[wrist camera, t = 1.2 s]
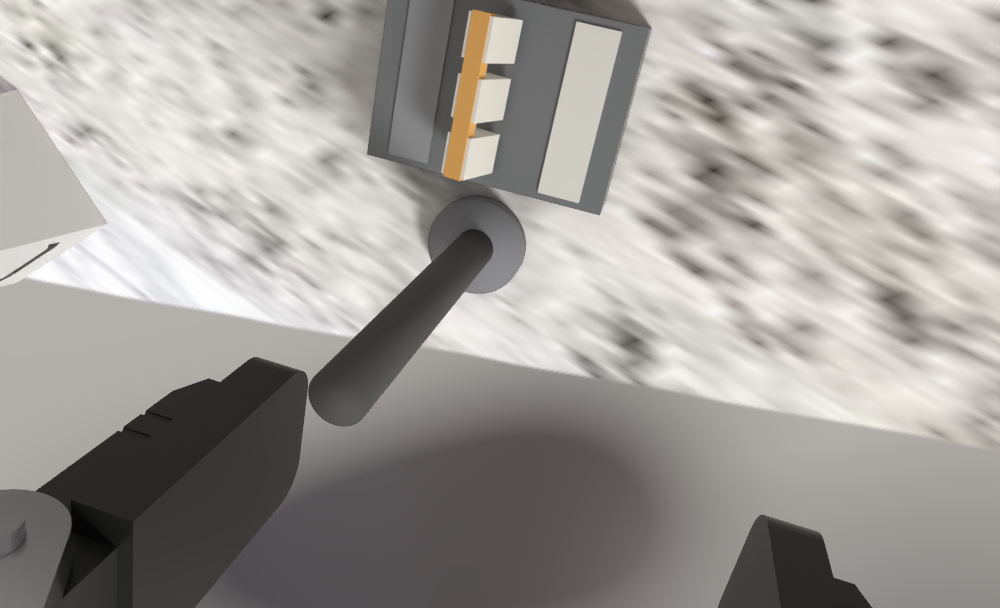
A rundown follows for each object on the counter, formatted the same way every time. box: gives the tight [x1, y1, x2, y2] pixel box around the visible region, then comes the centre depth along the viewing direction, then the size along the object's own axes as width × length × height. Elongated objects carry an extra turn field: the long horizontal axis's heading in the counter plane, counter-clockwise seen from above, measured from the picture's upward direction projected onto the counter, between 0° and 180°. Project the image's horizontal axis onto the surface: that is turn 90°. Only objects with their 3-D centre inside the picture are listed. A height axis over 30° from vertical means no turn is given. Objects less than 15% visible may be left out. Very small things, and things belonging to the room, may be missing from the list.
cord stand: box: [308, 196, 526, 426], centre depth 38 cm, size 6×6×21 cm
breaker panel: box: [367, 0, 652, 215], centre depth 42 cm, size 14×10×3 cm
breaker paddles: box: [441, 9, 523, 181], centre depth 39 cm, size 1×8×3 cm, turn 169°
